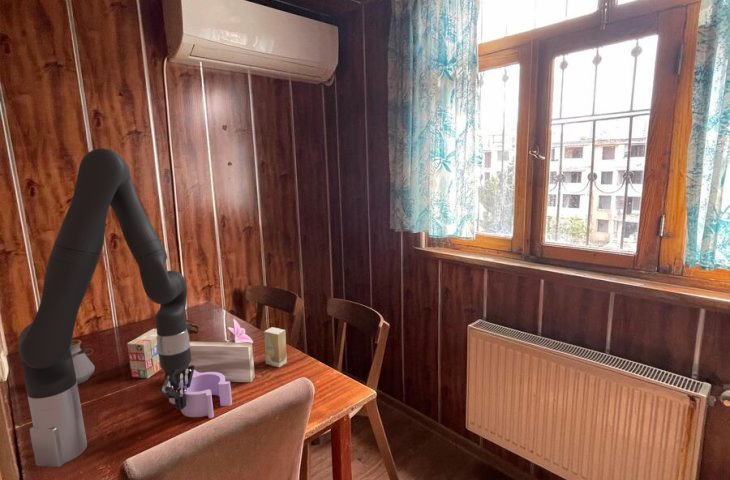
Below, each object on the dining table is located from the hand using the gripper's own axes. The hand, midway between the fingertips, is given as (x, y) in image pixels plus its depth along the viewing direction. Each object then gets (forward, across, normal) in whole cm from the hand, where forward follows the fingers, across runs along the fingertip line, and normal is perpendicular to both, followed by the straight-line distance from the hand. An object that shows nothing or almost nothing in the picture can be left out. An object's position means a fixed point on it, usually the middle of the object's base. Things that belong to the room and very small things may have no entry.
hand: (181, 407), depth 108 cm
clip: (+4, +9, +1) cm, 10 cm away
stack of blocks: (+4, +31, +27) cm, 42 cm away
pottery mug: (+4, +55, +32) cm, 64 cm away
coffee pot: (+4, +15, +44) cm, 47 cm away
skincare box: (+4, +34, -14) cm, 37 cm away
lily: (+4, +46, +4) cm, 47 cm away
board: (+4, +22, 0) cm, 23 cm away
